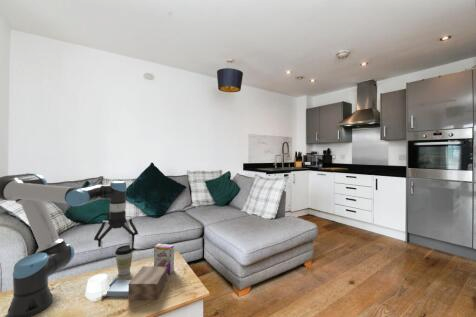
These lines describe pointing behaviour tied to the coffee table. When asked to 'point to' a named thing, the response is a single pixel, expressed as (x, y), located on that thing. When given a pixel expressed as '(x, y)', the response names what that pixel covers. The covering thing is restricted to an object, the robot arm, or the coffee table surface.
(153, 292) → the wooden box
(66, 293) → the coffee table surface
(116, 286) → the tray
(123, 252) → the coffee cup
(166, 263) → the candy bar box
